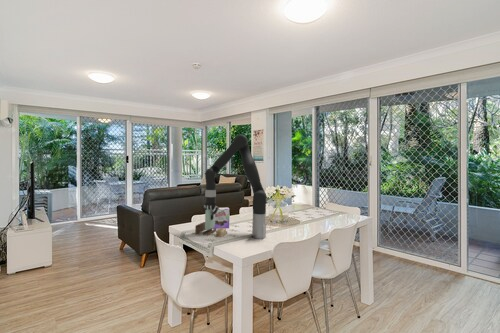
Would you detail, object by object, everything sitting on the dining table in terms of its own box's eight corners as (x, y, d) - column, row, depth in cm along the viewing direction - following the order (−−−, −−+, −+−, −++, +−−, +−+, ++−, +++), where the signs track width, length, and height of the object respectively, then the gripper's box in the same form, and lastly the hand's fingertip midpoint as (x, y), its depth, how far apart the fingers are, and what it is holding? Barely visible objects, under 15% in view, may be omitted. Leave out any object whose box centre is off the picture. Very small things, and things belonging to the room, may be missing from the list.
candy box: (211, 230, 215) (211, 208, 215) (210, 228, 221) (211, 207, 220) (229, 229, 218) (229, 208, 217) (228, 227, 224) (228, 207, 223)
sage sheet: (214, 226, 208) (215, 208, 207) (207, 230, 198) (207, 210, 197) (212, 226, 209) (212, 207, 208) (205, 230, 198) (205, 210, 198)
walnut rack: (216, 232, 209) (216, 223, 208) (207, 237, 197) (208, 227, 197) (203, 231, 212) (204, 221, 212) (195, 235, 201) (195, 225, 200)
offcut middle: (227, 233, 204) (227, 230, 204) (222, 237, 195) (222, 234, 195) (220, 232, 206) (220, 230, 206) (215, 236, 196) (215, 233, 196)
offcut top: (225, 230, 205) (225, 228, 205) (223, 234, 195) (223, 231, 195) (218, 230, 205) (218, 227, 205) (216, 233, 195) (216, 231, 195)
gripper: (221, 195, 203) (221, 219, 204) (204, 194, 208) (204, 217, 209) (216, 197, 196) (216, 221, 197) (199, 195, 201) (199, 219, 202)
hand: (210, 219), depth 203 cm, fingers closed on sage sheet, 2 cm apart
